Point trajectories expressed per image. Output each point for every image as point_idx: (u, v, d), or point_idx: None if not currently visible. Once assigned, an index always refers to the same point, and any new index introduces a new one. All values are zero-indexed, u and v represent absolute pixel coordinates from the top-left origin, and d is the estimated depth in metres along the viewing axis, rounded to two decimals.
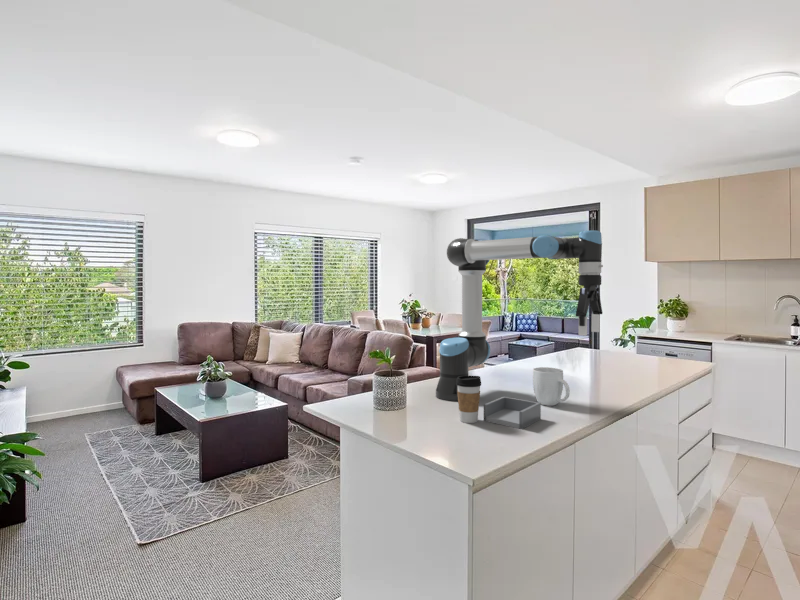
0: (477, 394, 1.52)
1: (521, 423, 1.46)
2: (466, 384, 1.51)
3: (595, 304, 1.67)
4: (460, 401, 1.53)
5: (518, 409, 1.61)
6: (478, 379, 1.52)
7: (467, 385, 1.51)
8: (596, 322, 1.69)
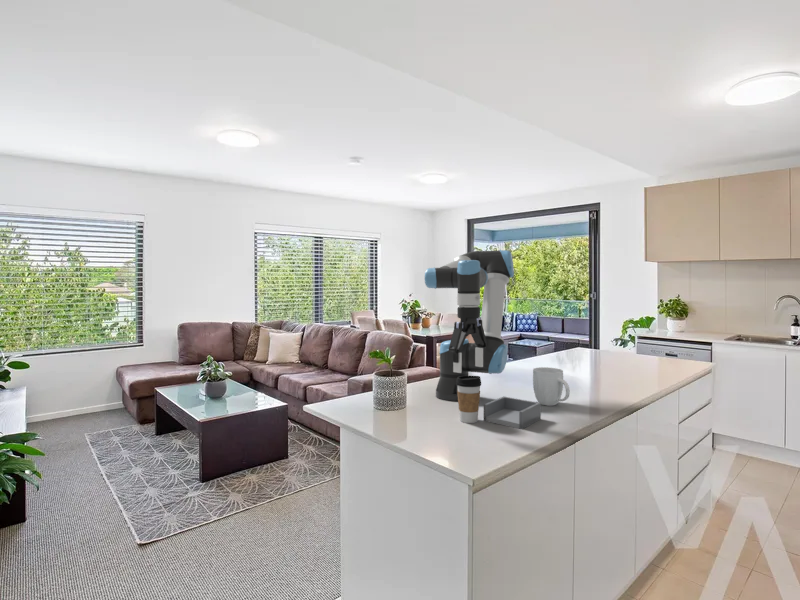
0: (477, 394, 1.52)
1: (521, 423, 1.46)
2: (466, 384, 1.51)
3: (477, 338, 1.57)
4: (460, 401, 1.53)
5: (518, 409, 1.61)
6: (478, 379, 1.52)
7: (467, 385, 1.51)
8: (479, 356, 1.59)
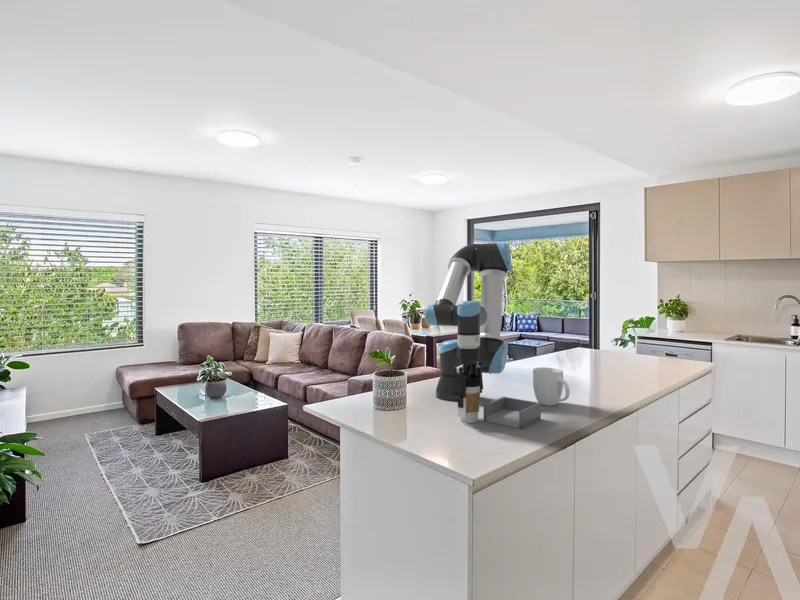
0: (477, 394, 1.52)
1: (521, 423, 1.46)
2: (466, 384, 1.51)
3: None
4: None
5: (518, 409, 1.61)
6: (478, 379, 1.52)
7: (467, 385, 1.51)
8: None
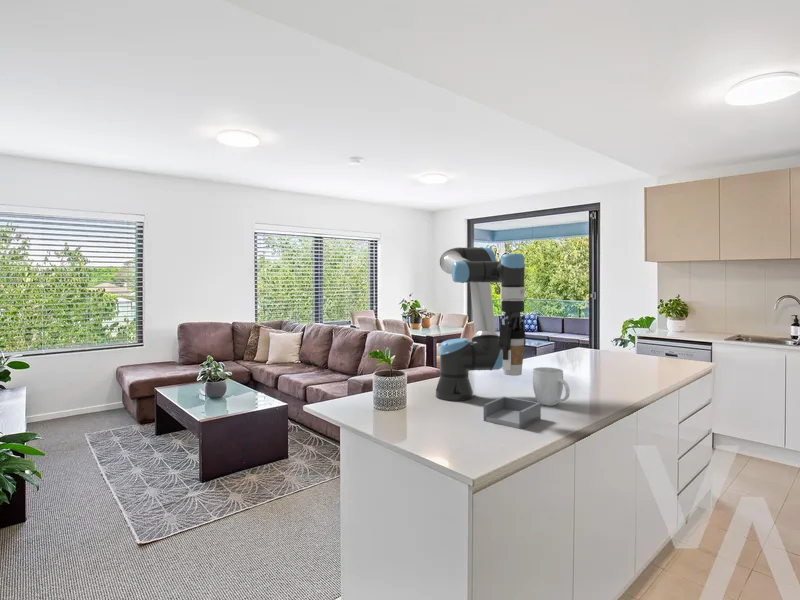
0: (522, 346, 1.52)
1: (521, 423, 1.46)
2: (511, 336, 1.51)
3: None
4: None
5: (518, 409, 1.61)
6: (523, 331, 1.52)
7: (512, 337, 1.50)
8: None
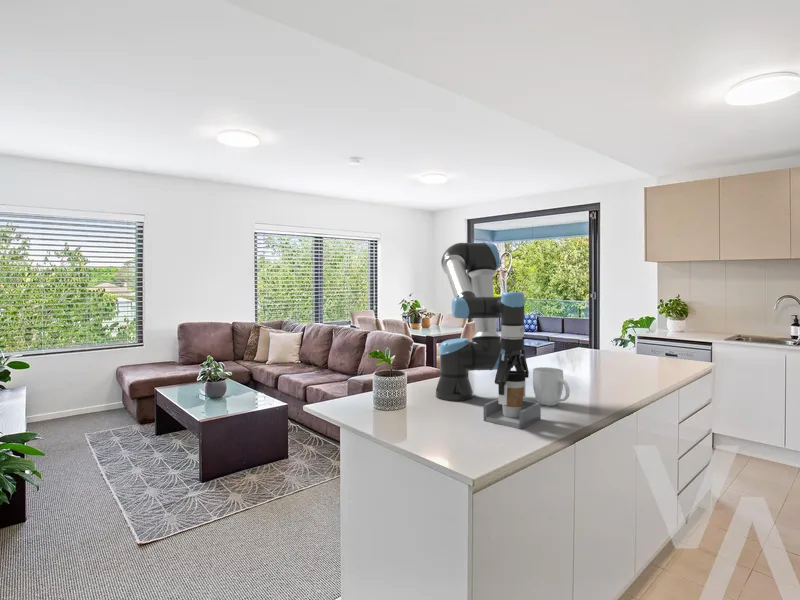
0: (521, 389, 1.52)
1: (521, 423, 1.46)
2: (511, 379, 1.51)
3: (520, 368, 1.58)
4: None
5: None
6: (523, 374, 1.52)
7: (512, 380, 1.51)
8: None
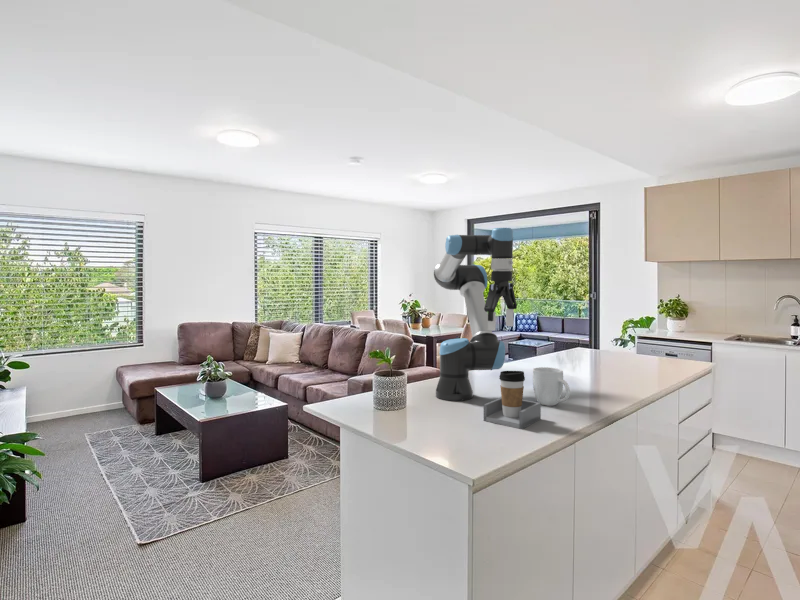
0: (521, 389, 1.52)
1: (521, 423, 1.46)
2: (511, 379, 1.51)
3: (508, 299, 1.71)
4: (504, 396, 1.54)
5: None
6: (522, 374, 1.52)
7: (511, 380, 1.51)
8: (510, 317, 1.74)
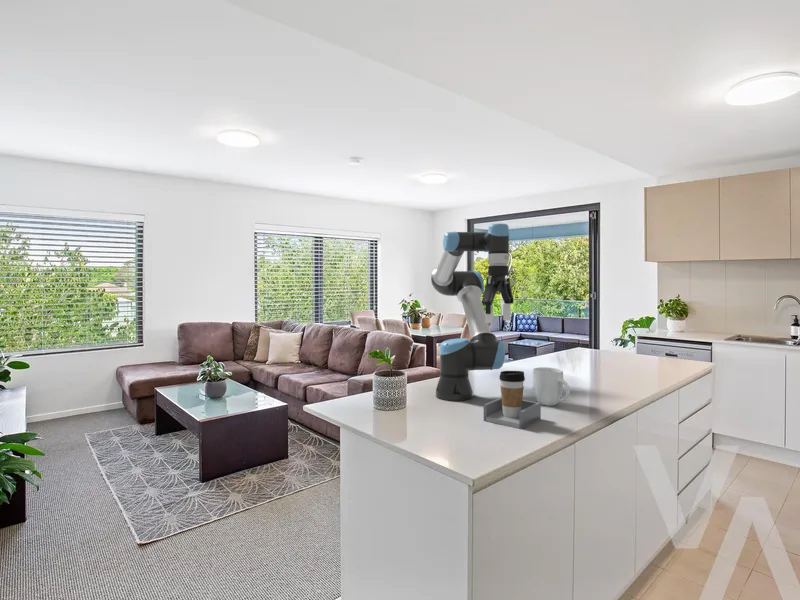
0: (521, 389, 1.52)
1: (521, 423, 1.46)
2: (511, 379, 1.51)
3: (505, 294, 1.76)
4: (504, 396, 1.53)
5: None
6: (522, 374, 1.52)
7: (511, 380, 1.51)
8: (507, 311, 1.78)
